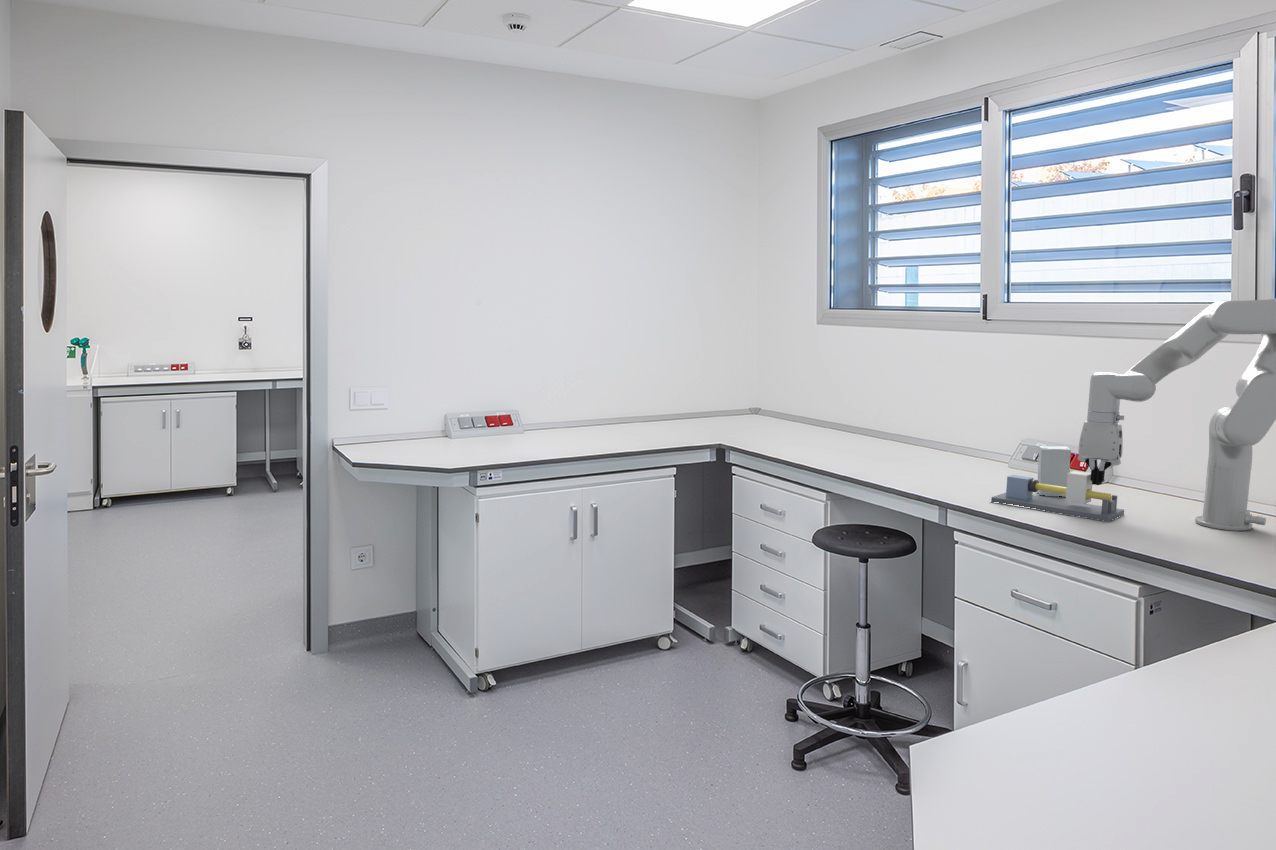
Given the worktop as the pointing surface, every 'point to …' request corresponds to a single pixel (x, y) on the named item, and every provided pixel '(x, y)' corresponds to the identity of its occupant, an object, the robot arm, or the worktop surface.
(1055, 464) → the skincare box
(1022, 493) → the yellow rod jig
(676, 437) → the worktop surface
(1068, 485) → the sleeve
